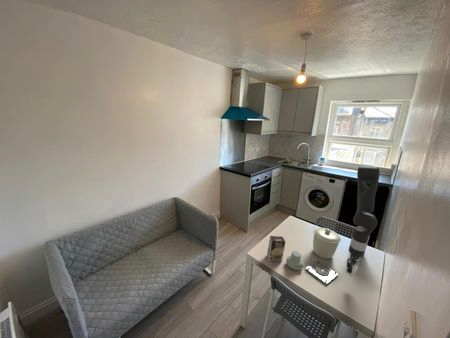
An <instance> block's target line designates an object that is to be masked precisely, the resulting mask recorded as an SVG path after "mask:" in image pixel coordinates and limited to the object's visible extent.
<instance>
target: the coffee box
mask: <svg viewBox="0 0 450 338" xmlns="http://www.w3.org/2000/svg"><path fill="white" fill-rule="evenodd" d="M285 245H286V240H285V238H284V237H283V236H278V235H270V236H269V241H268V247H267V253H266V255H267V259H268V261H269V262H279V263H280V262H283V256H284V251H285V247H286V246H285Z"/></svg>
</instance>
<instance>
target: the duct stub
mask: <svg viewBox="0 0 450 338" xmlns="http://www.w3.org/2000/svg"><path fill="white" fill-rule="evenodd" d="M349 258H350V256H349V257H348V259H349ZM353 264H354V263H353ZM359 265H360V261H357V262H356V264H355V265H354V266H353V269H352V272H351V274H350V273H348V272H347V268H348V267H346V268H345V274H347V275H348V276H350V277H355V276H356V273H357V270H358V267H359Z"/></svg>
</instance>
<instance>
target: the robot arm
mask: <svg viewBox="0 0 450 338" xmlns="http://www.w3.org/2000/svg"><path fill="white" fill-rule="evenodd" d="M356 173H357V174H356V175H357V177H356V178H357V194H356V195H357V197H356V199H357V200H356V201H357V205H356V207H357V208H356V213H355V215H354V216H353V218H352V221H353V223H354V225H356V227H355V228H354V230H353V234H352V237H351V240H350V243H349V247H348V252H349V254H350V255H349V257H350V258H349V257H348V258H349V259H347V260H346V267H348V268H347V272H348V273H350V274H351V272H352V269H353V266H354V265H355V264H356V262H357V261H359V262H360V260H361V258H363V257H364V256H365V253H366V249H367V246H368V244H369V243H368V242H369V239H370V236H371V234H372V233H373V232H374V230H375V229H376V228H377V226H378V220H377V218H376V216H375V214H372V213H373V212H374V210H375V202H376V201H375V199H376V193H377V191H378V186H379V180H380V168H379V167H378V166H367V165H366V166H365V165H364V166H363V165H362V166H359V167H358V168H357V172H356ZM366 182H370V183H371V184H370V185H369V186H368V185H367V184H366ZM353 263H354V264H353Z"/></svg>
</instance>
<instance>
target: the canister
mask: <svg viewBox="0 0 450 338" xmlns="http://www.w3.org/2000/svg"><path fill="white" fill-rule="evenodd" d="M341 241H342V237H341V235H339V233H337V232H336V231H334V230H332V229H330V228H326V227H316V228H315V227H314V229H313V242H312V248H313V249H312V250H313V252H314V254H316V256H318V257H319V258H321V259H324V260H326V259H327V260H329V259H332V258H333V257H334V255H335V253H336V251H337V248H338V246H339V243H340V242H341Z"/></svg>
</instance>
